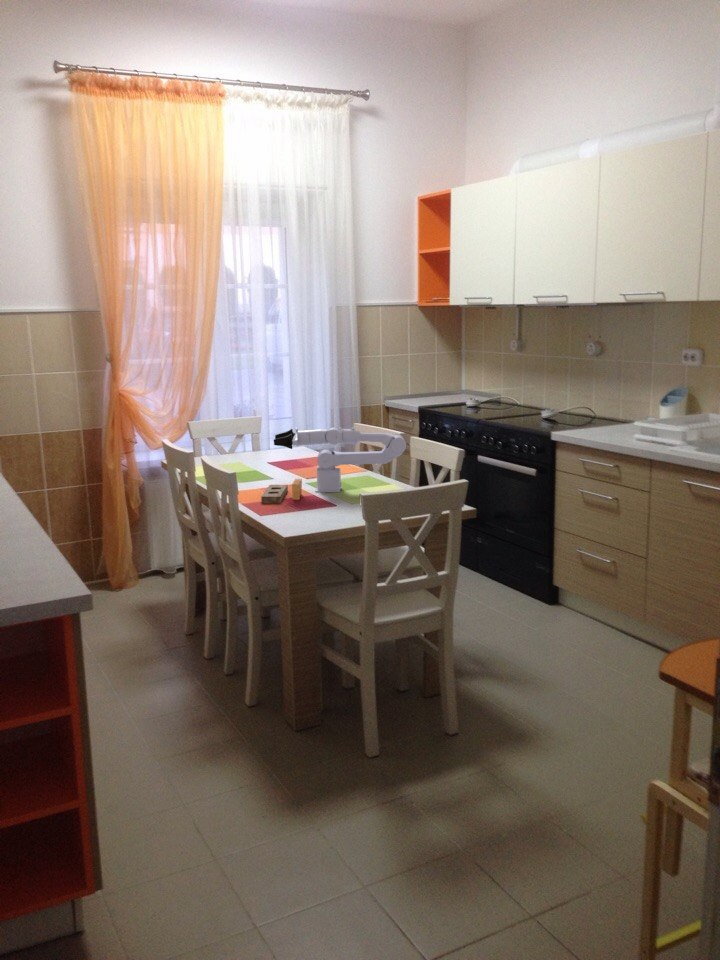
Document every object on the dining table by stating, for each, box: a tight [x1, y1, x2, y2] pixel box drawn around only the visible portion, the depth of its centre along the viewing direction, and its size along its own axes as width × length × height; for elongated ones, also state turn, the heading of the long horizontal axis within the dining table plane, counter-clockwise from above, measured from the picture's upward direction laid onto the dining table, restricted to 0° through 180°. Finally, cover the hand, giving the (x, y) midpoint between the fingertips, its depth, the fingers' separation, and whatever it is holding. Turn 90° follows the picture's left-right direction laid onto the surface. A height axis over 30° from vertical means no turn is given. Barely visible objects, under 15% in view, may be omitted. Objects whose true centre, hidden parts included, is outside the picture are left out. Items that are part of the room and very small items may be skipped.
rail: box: [260, 484, 289, 504], centre depth 314 cm, size 7×20×2 cm, turn 177°
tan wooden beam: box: [291, 478, 303, 501], centre depth 313 cm, size 2×10×6 cm, turn 177°
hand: (274, 439), depth 320 cm, fingers open, 7 cm apart
